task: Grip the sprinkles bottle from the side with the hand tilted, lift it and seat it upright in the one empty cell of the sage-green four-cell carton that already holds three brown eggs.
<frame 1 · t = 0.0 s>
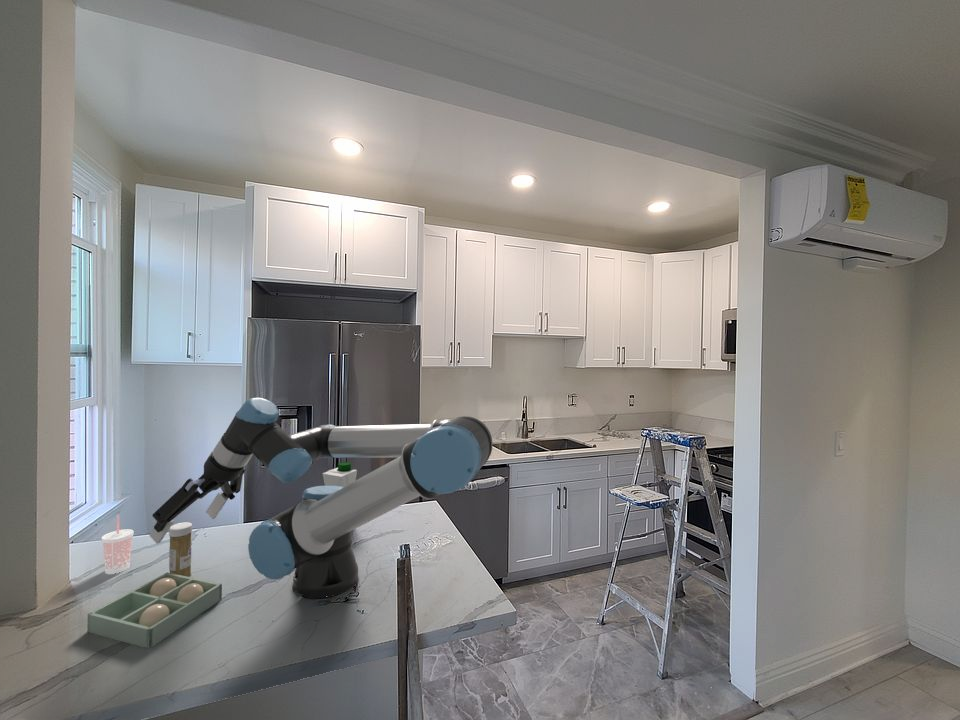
hand: (184, 526, 95), 15 cm above the worktop, tool tilted 35°, fingers open, 13 cm apart
carton: (158, 617, 86), on the worktop
beverage cup: (117, 570, 103), on the worktop
egg c: (163, 600, 90), point 1 cm above the worktop, touching carton
egg a: (190, 606, 88), point 1 cm above the worktop, touching carton
sprinkles bottle: (180, 580, 100), on the worktop
egg b: (154, 629, 81), point 1 cm above the worktop, touching carton
milk carton: (338, 527, 132), on the worktop
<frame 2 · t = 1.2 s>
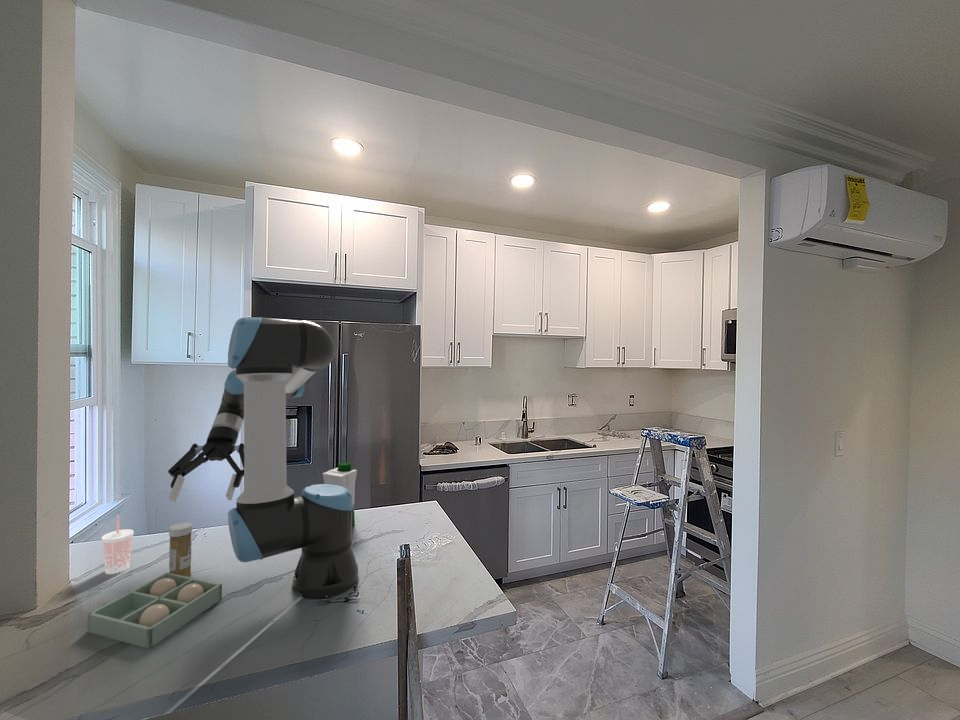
hand: (200, 499, 109), 16 cm above the worktop, tool tilted 45°, fingers open, 13 cm apart
nothing on the worktop moved.
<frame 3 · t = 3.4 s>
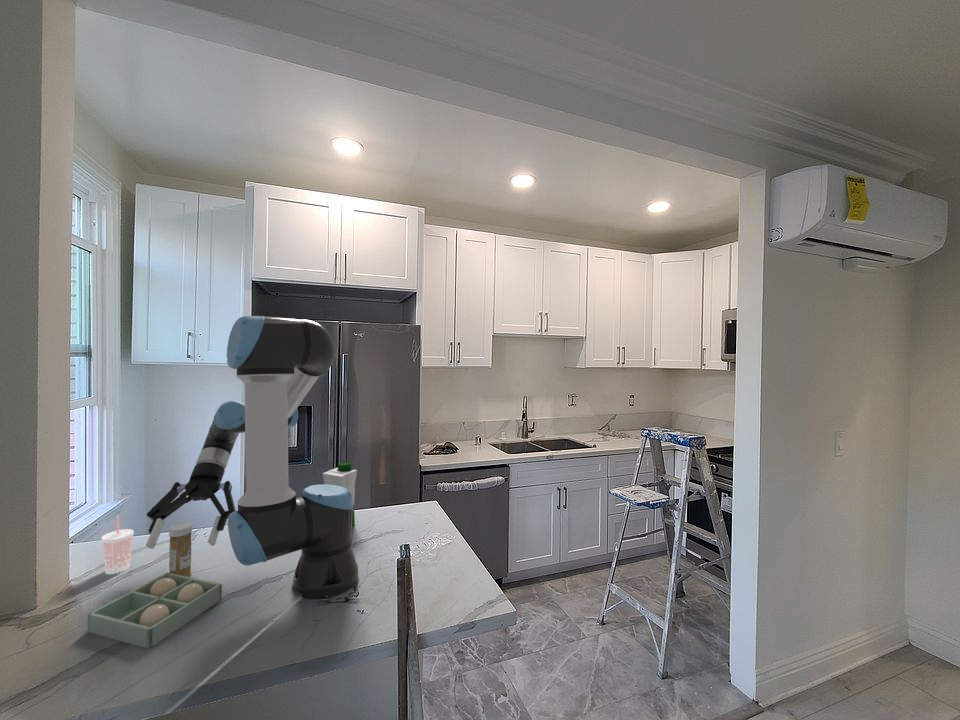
hand: (180, 545, 101), 8 cm above the worktop, tool tilted 45°, fingers open, 13 cm apart
nothing on the worktop moved.
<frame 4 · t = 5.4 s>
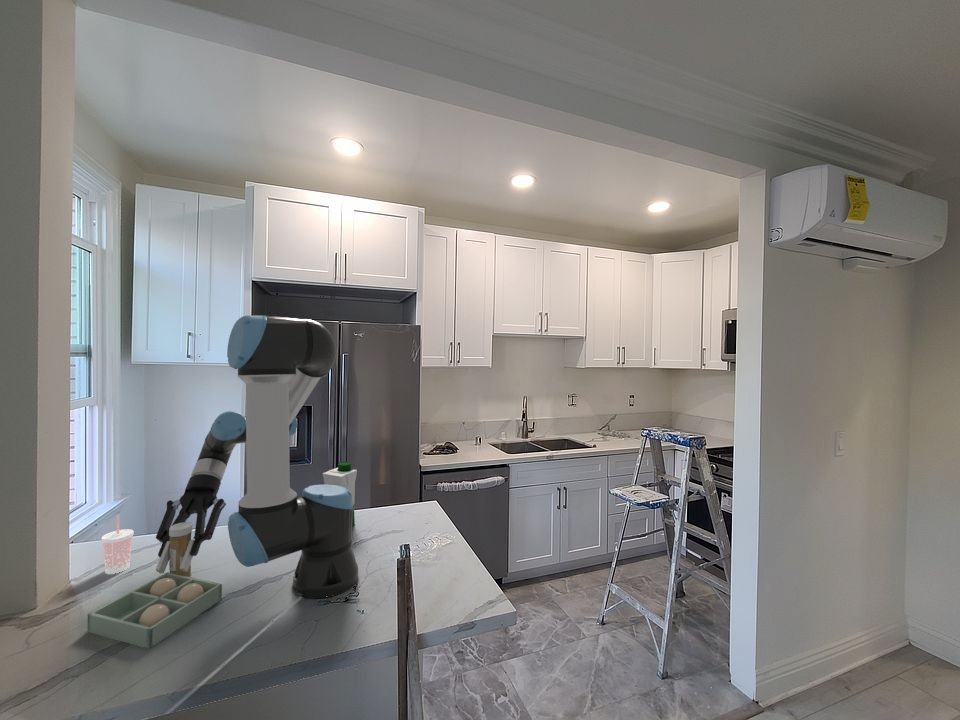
hand: (171, 570, 96), 4 cm above the worktop, tool tilted 45°, fingers closed on sprinkles bottle, 4 cm apart
sprinkles bottle: (180, 580, 100), on the worktop, touching gripper
everything else where it was.
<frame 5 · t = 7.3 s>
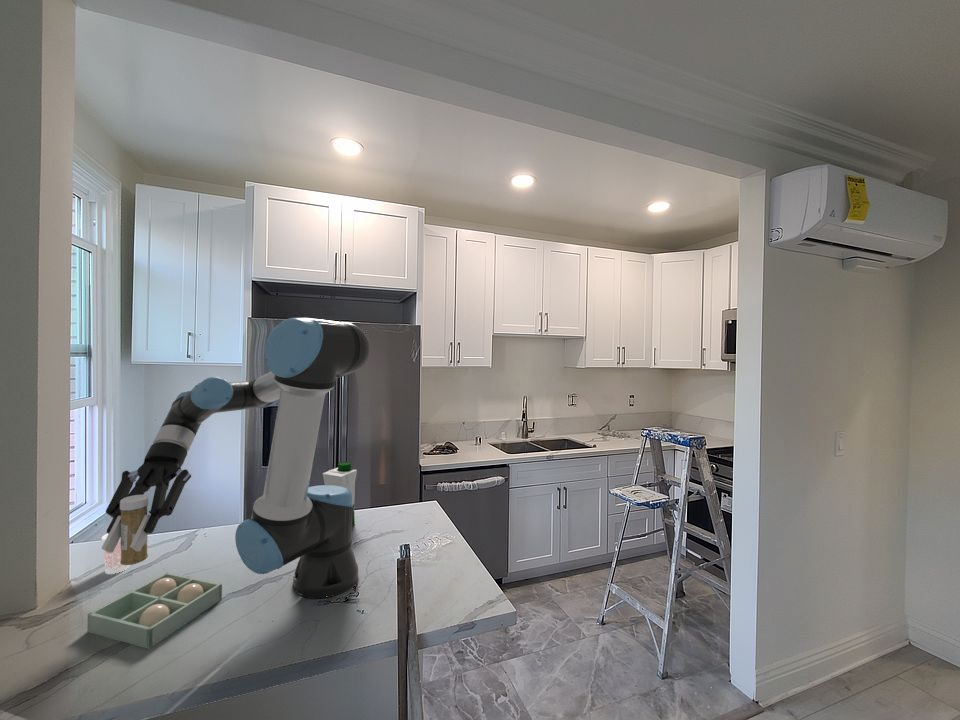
hand: (121, 549, 82), 16 cm above the worktop, tool tilted 45°, fingers closed on sprinkles bottle, 4 cm apart
sprinkles bottle: (134, 561, 86), point 12 cm above the worktop, touching gripper
everything else where it was.
when the fingers open (6 cm above the worktop, at t = 9.7 s): sprinkles bottle drops 1 cm, resting on carton.
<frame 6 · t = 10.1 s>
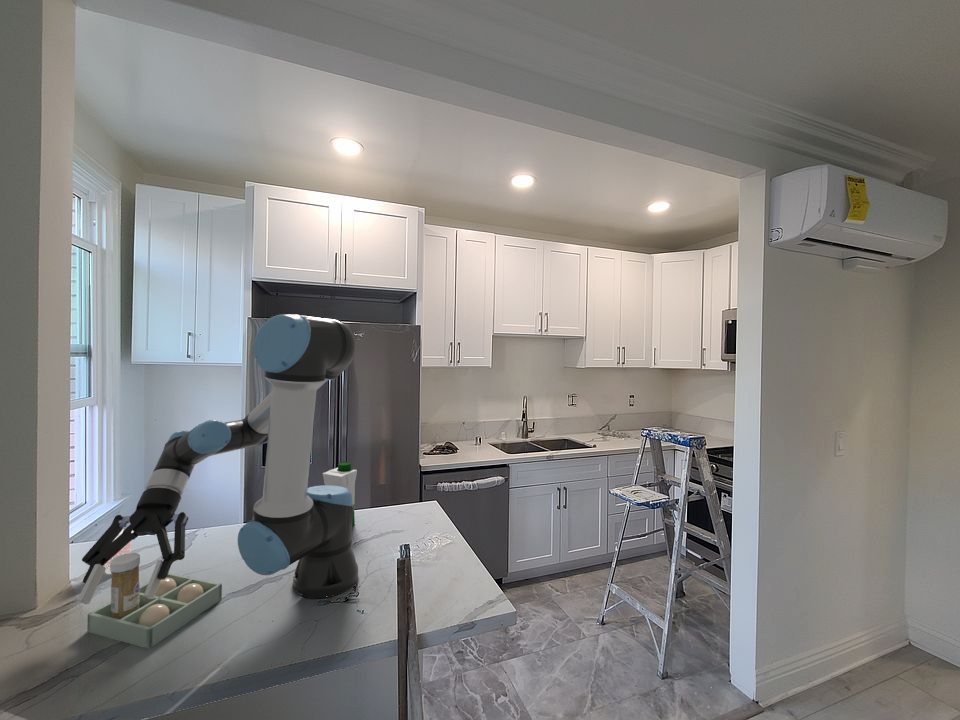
hand: (116, 599, 80), 7 cm above the worktop, tool tilted 45°, fingers open, 10 cm apart
sprinkles bottle: (125, 623, 83), resting on carton
everything else where it was.
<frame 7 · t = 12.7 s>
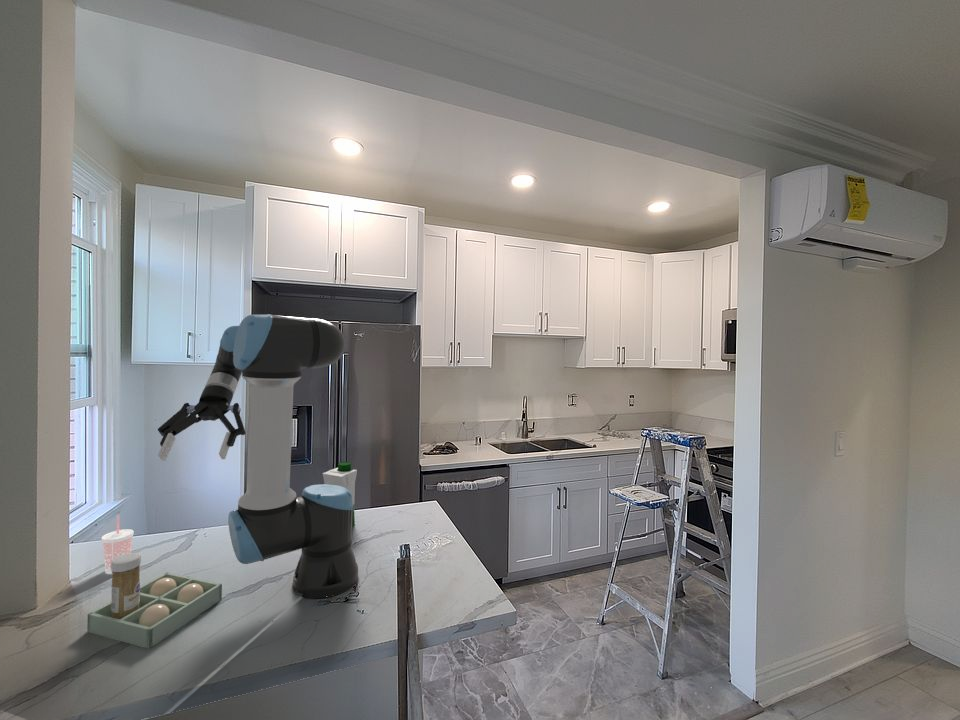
hand: (192, 457, 102), 29 cm above the worktop, tool tilted 45°, fingers open, 13 cm apart
nothing on the worktop moved.
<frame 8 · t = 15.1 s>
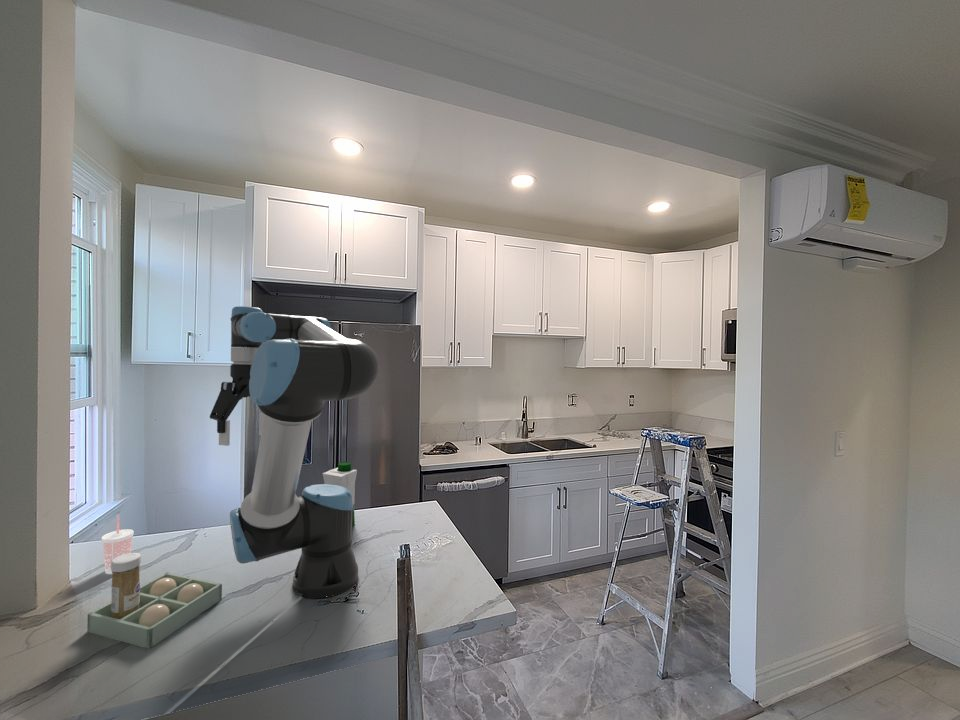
hand: (245, 439, 112), 32 cm above the worktop, tool pointing down, fingers open, 13 cm apart
nothing on the worktop moved.
at the end: sprinkles bottle 0.1 cm from the target spot on the carton, point 0.4 cm above the carton's base; sprinkles bottle tilted 0°; the gripper is holding nothing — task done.
